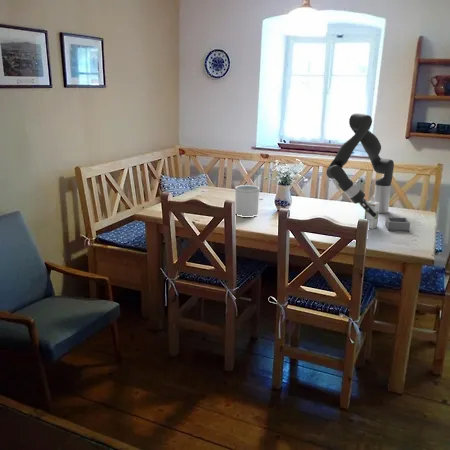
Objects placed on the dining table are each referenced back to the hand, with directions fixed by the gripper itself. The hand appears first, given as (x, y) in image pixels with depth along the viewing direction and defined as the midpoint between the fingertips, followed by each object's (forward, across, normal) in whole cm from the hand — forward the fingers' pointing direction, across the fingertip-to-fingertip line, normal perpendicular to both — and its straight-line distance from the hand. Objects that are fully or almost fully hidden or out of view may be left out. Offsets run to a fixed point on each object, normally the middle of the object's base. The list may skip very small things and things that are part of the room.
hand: (374, 214), depth 262 cm
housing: (+14, 0, -4) cm, 15 cm away
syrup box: (+5, 0, +6) cm, 8 cm away
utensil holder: (-46, +14, +58) cm, 75 cm away
